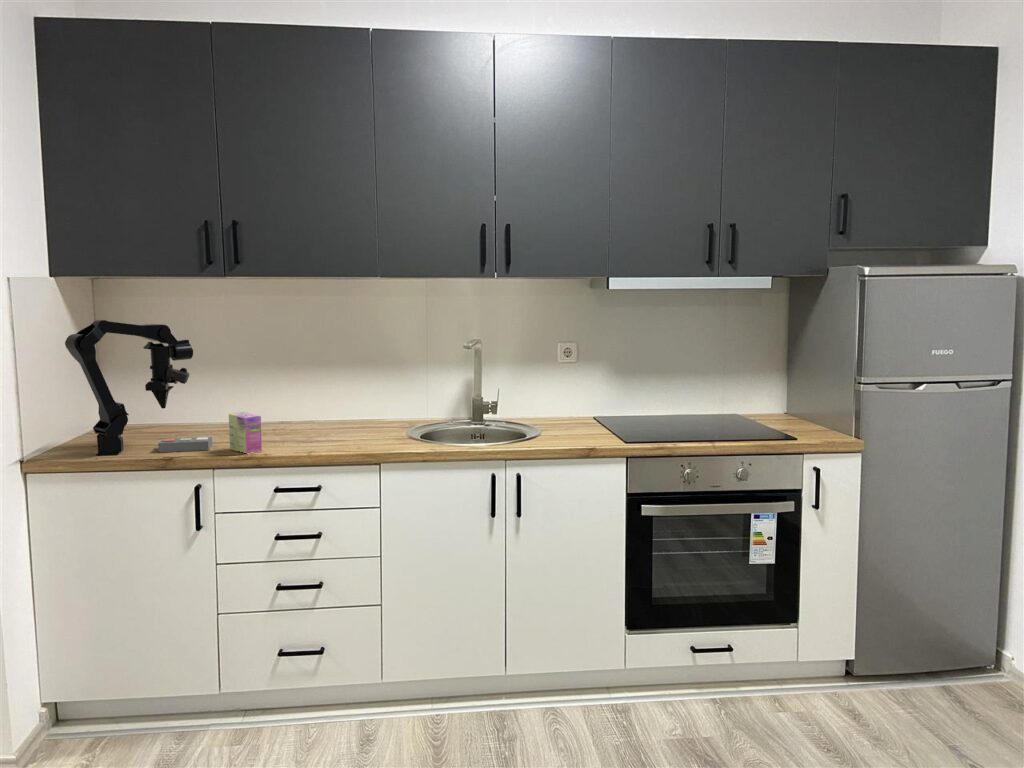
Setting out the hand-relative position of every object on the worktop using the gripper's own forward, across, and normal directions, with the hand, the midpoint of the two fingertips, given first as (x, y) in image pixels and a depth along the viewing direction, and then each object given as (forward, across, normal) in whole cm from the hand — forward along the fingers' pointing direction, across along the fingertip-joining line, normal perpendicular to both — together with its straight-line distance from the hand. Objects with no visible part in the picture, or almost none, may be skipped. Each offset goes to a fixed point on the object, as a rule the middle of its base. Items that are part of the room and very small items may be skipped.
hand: (163, 408), depth 263 cm
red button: (+11, -10, -4) cm, 15 cm away
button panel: (+12, -10, -8) cm, 18 cm away
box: (+12, -17, -28) cm, 35 cm away
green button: (+11, -10, -9) cm, 17 cm away
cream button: (+11, -10, -14) cm, 20 cm away
